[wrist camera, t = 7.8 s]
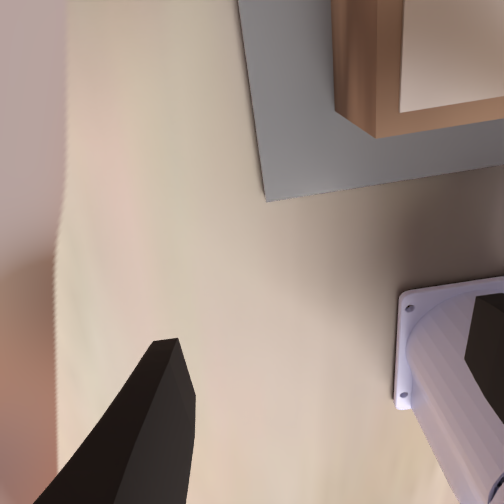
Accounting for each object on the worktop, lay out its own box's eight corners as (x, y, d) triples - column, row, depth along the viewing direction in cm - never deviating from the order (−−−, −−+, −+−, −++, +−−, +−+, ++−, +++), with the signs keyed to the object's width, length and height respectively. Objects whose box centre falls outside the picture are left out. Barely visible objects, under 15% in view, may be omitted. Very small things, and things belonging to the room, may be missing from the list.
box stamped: (444, 93, 15) (531, 114, 11) (334, 110, 16) (377, 139, 11) (457, -45, 13) (573, -87, 9) (329, -23, 13) (379, -54, 9)
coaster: (500, 160, 18) (508, 164, 17) (265, 197, 18) (266, 202, 17) (559, -175, 12) (573, -185, 12) (221, -113, 13) (221, -120, 12)
